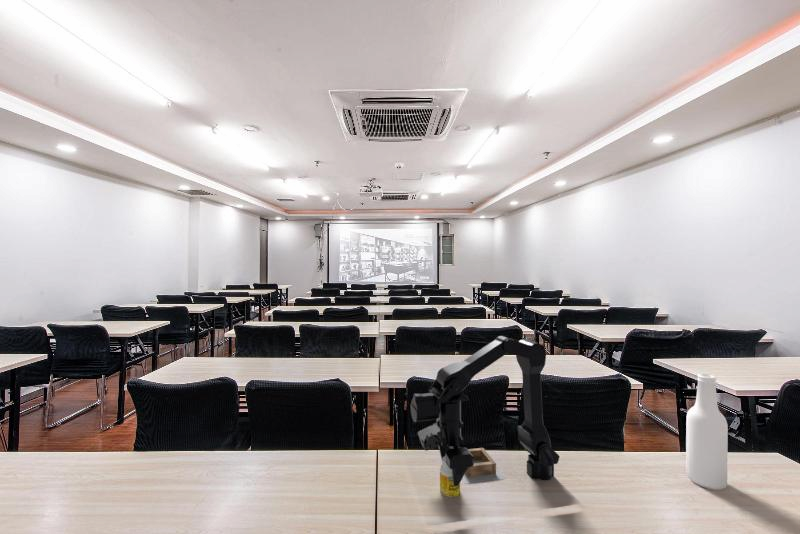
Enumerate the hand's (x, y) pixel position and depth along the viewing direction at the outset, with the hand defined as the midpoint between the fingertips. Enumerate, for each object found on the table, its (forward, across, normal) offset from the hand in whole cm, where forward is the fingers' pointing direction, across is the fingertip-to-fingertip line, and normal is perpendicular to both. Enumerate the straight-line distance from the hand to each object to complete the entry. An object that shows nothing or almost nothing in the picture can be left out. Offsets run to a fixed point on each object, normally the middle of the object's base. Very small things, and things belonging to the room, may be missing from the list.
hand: (450, 475), depth 94 cm
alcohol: (+6, +8, +73) cm, 74 cm away
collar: (+4, -9, +11) cm, 15 cm away
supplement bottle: (+6, 0, 0) cm, 6 cm away
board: (+5, -9, +11) cm, 15 cm away
